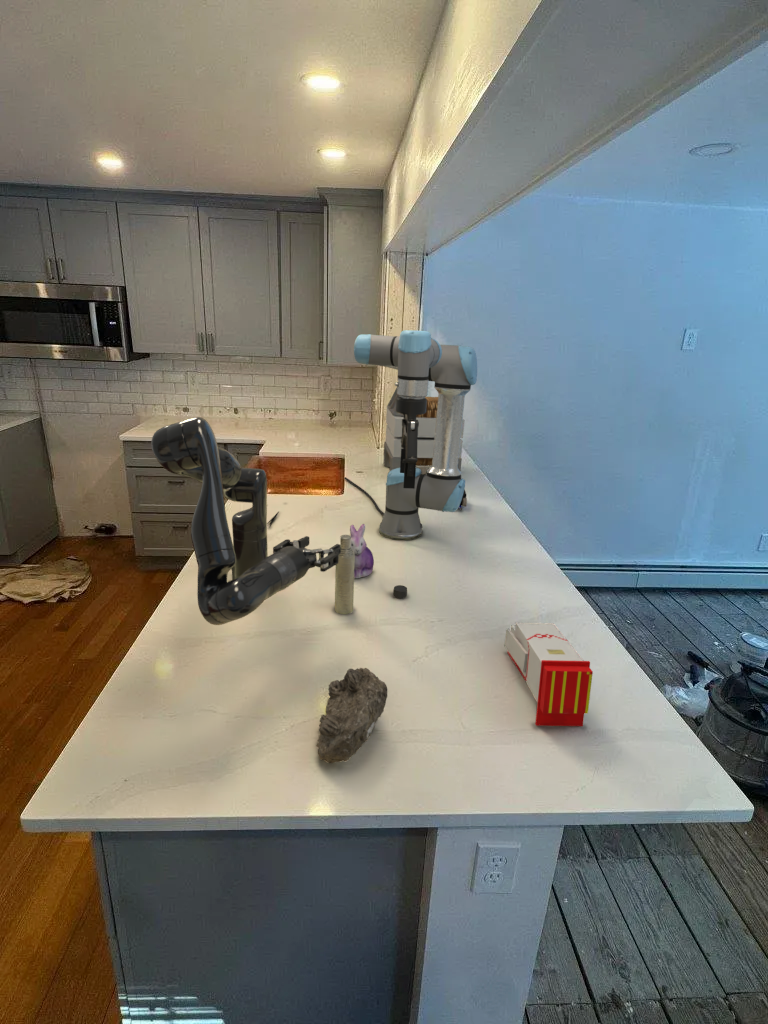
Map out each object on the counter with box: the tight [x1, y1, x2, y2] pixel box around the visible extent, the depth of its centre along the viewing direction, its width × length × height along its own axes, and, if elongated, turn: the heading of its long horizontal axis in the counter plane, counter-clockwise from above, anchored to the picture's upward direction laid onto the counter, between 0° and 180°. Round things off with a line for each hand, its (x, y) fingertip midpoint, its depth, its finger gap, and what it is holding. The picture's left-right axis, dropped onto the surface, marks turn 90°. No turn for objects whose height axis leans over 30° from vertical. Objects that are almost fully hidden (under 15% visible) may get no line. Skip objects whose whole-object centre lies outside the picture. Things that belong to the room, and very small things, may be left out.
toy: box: [503, 622, 594, 727], centre depth 121 cm, size 12×13×30 cm
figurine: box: [349, 523, 375, 579], centre depth 167 cm, size 9×10×15 cm
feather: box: [267, 512, 279, 529], centre depth 212 cm, size 2×28×2 cm
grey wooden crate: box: [383, 386, 465, 473], centre depth 268 cm, size 34×33×41 cm
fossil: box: [316, 667, 388, 764], centre depth 106 cm, size 22×10×15 cm
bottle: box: [334, 534, 355, 615], centre depth 145 cm, size 5×5×21 cm
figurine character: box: [459, 488, 468, 511], centre depth 230 cm, size 7×8×15 cm
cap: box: [392, 584, 408, 600], centre depth 157 cm, size 4×4×2 cm
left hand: (323, 543), depth 132 cm, fingers open, 8 cm apart
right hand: (406, 480), depth 146 cm, fingers open, 13 cm apart
